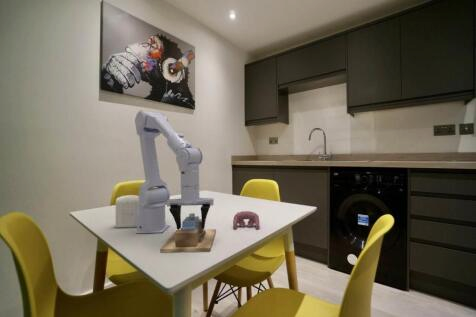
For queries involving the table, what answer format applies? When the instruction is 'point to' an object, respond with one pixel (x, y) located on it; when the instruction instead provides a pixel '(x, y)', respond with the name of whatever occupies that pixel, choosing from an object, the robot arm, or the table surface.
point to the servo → (191, 223)
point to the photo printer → (127, 211)
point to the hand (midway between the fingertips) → (191, 228)
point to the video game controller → (246, 215)
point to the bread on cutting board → (190, 241)
